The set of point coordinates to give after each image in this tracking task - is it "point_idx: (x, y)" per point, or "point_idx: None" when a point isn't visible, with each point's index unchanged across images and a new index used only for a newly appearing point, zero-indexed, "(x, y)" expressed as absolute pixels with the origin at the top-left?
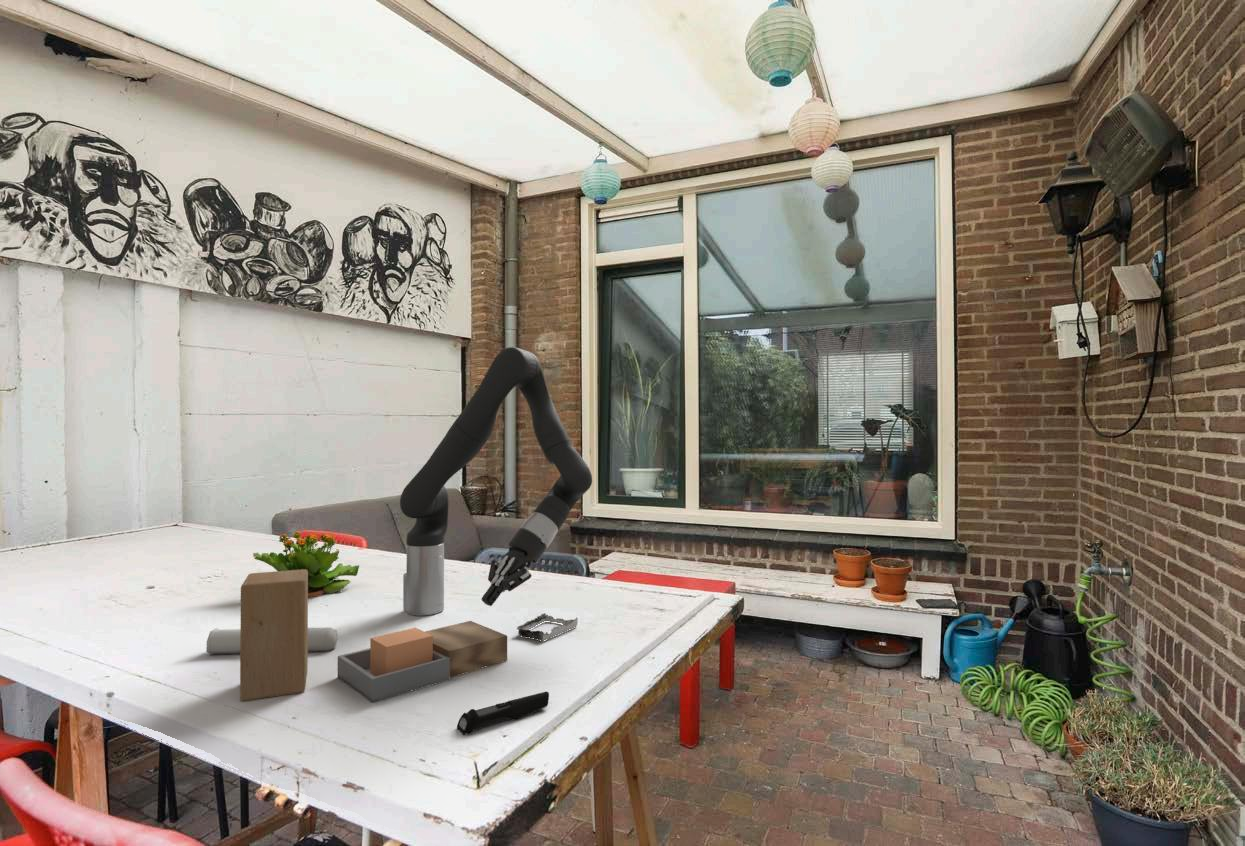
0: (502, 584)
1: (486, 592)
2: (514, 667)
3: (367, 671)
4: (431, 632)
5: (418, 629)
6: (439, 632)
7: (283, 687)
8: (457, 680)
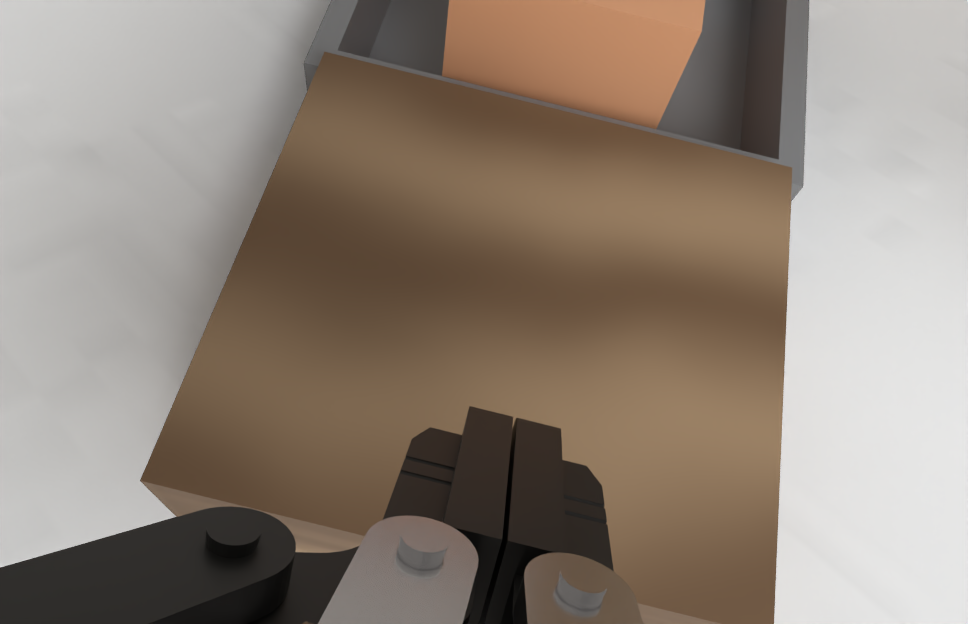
0: (246, 510)
1: (547, 468)
2: (62, 456)
3: (711, 28)
4: (734, 239)
5: (645, 12)
6: (690, 265)
7: None
8: (268, 157)
